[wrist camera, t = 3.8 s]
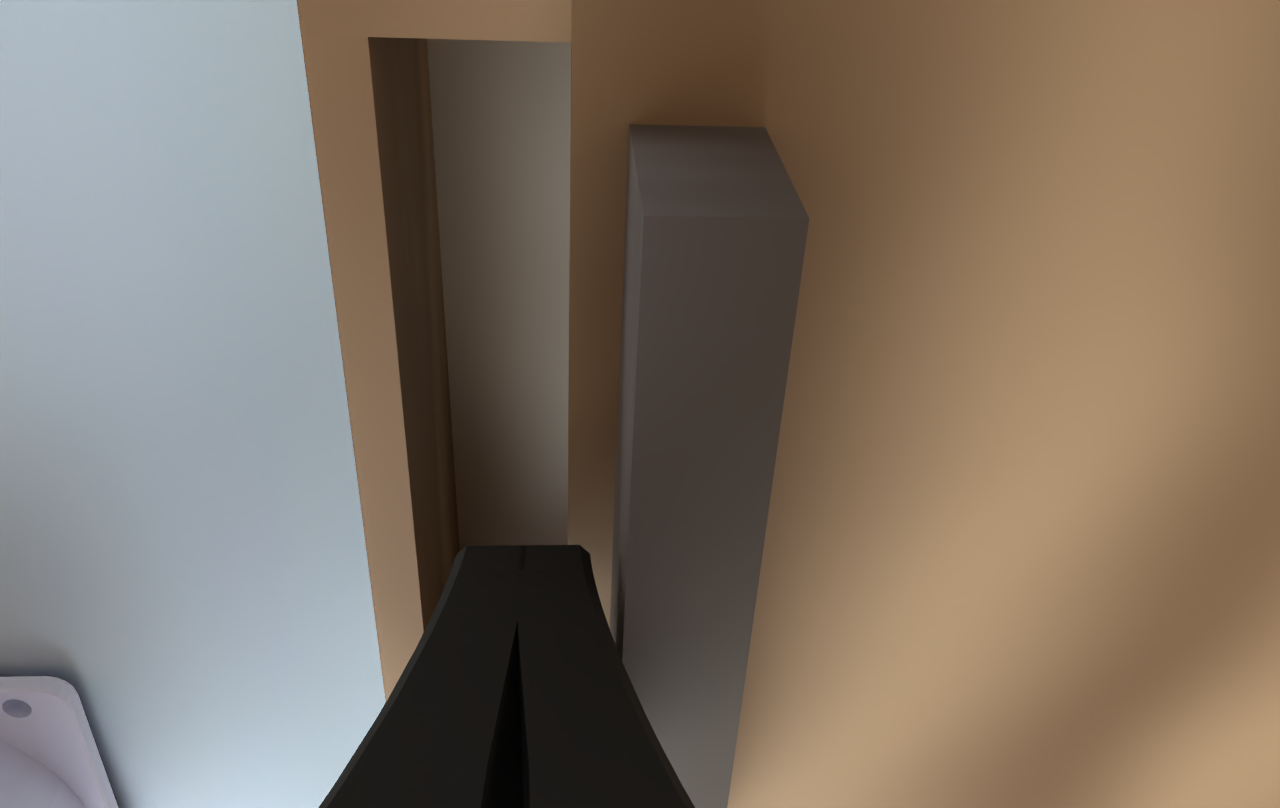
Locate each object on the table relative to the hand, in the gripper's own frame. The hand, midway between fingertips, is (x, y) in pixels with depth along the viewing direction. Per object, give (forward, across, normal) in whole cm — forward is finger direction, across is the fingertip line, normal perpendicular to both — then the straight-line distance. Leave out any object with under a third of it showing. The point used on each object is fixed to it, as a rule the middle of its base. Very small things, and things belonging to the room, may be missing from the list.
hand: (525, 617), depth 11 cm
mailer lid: (+2, -8, 0) cm, 8 cm away
